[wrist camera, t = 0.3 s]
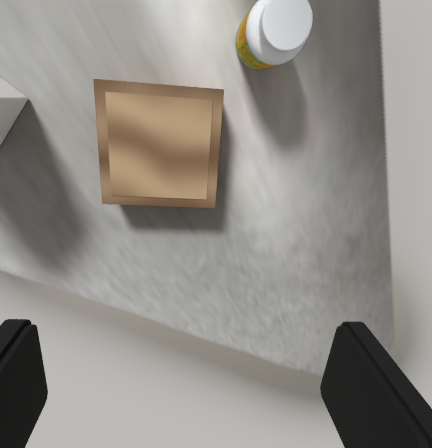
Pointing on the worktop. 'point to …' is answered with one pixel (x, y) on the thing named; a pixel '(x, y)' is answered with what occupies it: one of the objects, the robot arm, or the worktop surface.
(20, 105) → the milk carton
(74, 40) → the worktop surface
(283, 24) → the supplement bottle
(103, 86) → the pedestal
